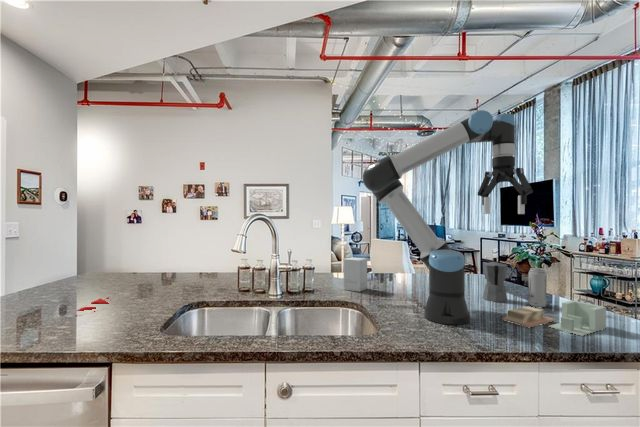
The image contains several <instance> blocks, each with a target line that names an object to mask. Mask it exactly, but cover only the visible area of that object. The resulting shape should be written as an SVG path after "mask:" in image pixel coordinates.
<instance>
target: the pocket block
mask: <svg viewBox="0 0 640 427" xmlns="http://www.w3.org/2000/svg"><path fill="white" fill-rule="evenodd" d="M549 327H551V328H550V329H552V328H555V329H554V330H556V329H559V330H562V331H561V332H563V331H566V332H569V333H568V334H570V333H573V334H572V335H574V334H576V335H575V336H577V335H580V336H579V337H581V336H582V337H585V336H588V335H591V334H590V333H592V334H594V333H593V332H595V333H597V332H596V331H598V332H600V331H599V330H601V331H603V330H602V329H604V330H606V329H607V307H606V306H603V305H597V304H593V303H592V304H591V303H587V302H583V301H578V300H569V301H565V302H561V316H560V322H557V323H554V324H551V325H548V328H549ZM605 328H606V329H605ZM559 330H558V331H559ZM566 332H565V333H566ZM587 334H588V335H587ZM584 335H585V336H584Z"/></svg>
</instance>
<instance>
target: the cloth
mask: <svg viewBox="0 0 640 427" xmlns="http://www.w3.org/2000/svg"><path fill="white" fill-rule="evenodd" d="M109 298H110V297H109V296H108V297H106V298H105V299H109ZM105 299H103V298H98V299H96V300H94V301H91V302H90V303H91V304H109V303H108V302H106V301H105ZM92 309H96V307H85V306H84V307H80V308H79V309H77V310H76V311H84V310H92Z"/></svg>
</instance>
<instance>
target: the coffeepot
mask: <svg viewBox="0 0 640 427" xmlns="http://www.w3.org/2000/svg"><path fill="white" fill-rule="evenodd" d="M482 267H483V272H484V273H483V274H484V279H485V280H486V282H485V285H484V291H483V296H482V299H484V300H485V301H488V302H491V301H493V303H506V302H507V301H508V297H507V296H508V295H507V290H506V286H505V285H504V284H505V281H506V279H507V278H506V277H507V271H508V264H505V263H502V262H498V258H497V257H493V258H492V261H491V262H485V263H482ZM505 301H506V302H505Z"/></svg>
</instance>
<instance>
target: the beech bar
mask: <svg viewBox="0 0 640 427" xmlns="http://www.w3.org/2000/svg"><path fill="white" fill-rule="evenodd" d="M543 316H544V308H535V307H531V306H530V305H527V306H523V307H518V308H513V309H509V310H507V317H508V320H511V321H515V322H518V323H522V324H524V323H527V322H531V321H535V320H539V319H543Z"/></svg>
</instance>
